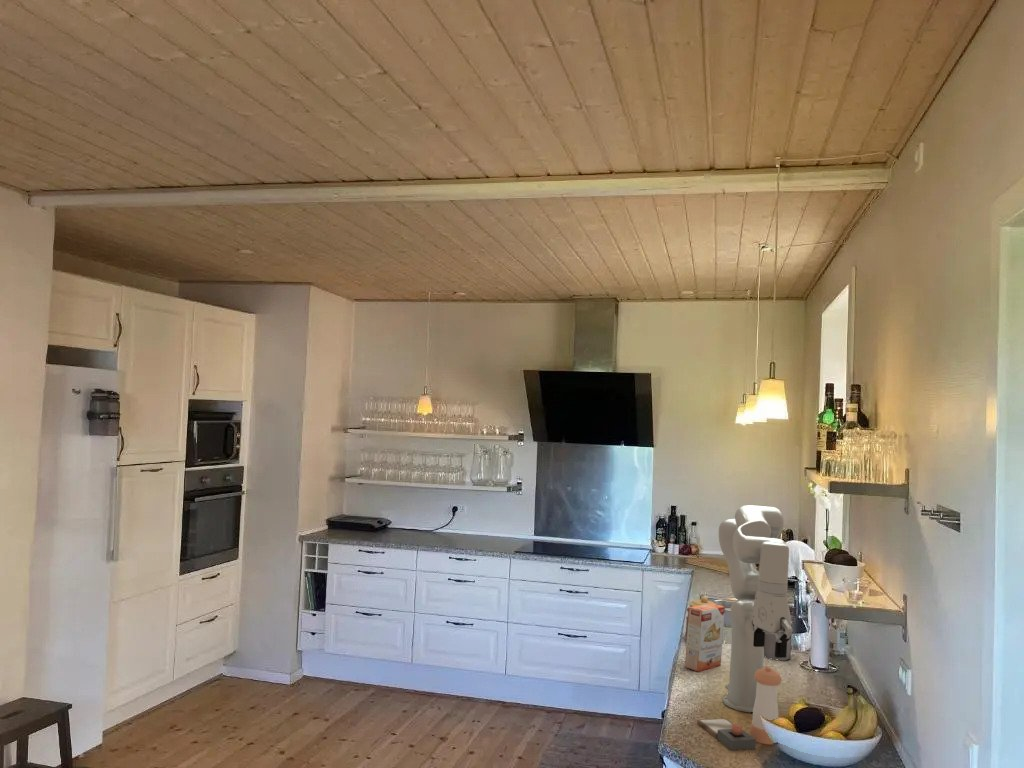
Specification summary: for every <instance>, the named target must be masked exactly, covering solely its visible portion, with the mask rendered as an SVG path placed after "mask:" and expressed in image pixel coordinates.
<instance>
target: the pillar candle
mask: <svg viewBox="0 0 1024 768" xmlns="http://www.w3.org/2000/svg"><path fill="white" fill-rule="evenodd" d="M791 627H792V628H793V621H792V620H791ZM779 635H780V637H781V636H782V634H779ZM792 635H793V633H792V634H791V638H790V639H789V642H788V643H787V654H786V657H785V658H776V657H775V643H776V642H777V639H776V636H775V634H767V633H765V643H764V655H765V656H766V657H765V656H764V657H765V658H767V657H768V658H767V659H769V658H772V659H771V660H773V659H778V660H782V661H783V660H787V659H790V660H791V657H792V656H791V654H792ZM778 660H777V661H778Z"/></svg>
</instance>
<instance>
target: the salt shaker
mask: <svg viewBox="0 0 1024 768" xmlns="http://www.w3.org/2000/svg"><path fill="white" fill-rule="evenodd" d="M754 678H755V680H756V681H757V687H756V699H755V703H754V708H753V713H752V721H751V723H750V731H749V733H750V734H749V735H751V736H752V737H753V738H755V739H756V743H760V744H764V745H769V746H770V745H774V744H773V742H772V741H771V739H770V738H769V736H768V734H767V733H766V732H765V730H764V728H763V724H762V720H761V717H760V716H763V717H764V718H766V719H768V720H773V719H776V718H778V719H779V715H780V714H779V706H778V705H779V704H778V689H779V688H778V687H779V685H781V681H782V676H781V675H780V673H779V672H777V671H776V670H774V669H772V668H771V667H770V666H766V667H763V668H762V669H758V670H757V671H756V672H755V674H754Z"/></svg>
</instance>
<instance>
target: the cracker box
mask: <svg viewBox="0 0 1024 768" xmlns="http://www.w3.org/2000/svg"><path fill="white" fill-rule="evenodd" d="M725 612H726V607H725V606H723V605H721V604H716V603H715V604H713V603H710V604H705V605H699V606H693V607H690V606H689V616H688V615H687V616H688V630H687V641H686V647H685V660H684V667H685V668H687V669H689V670H692V671H694V672H701V671H704V670H709V669H713V668H717V667H720V666H722V664H721V663H722V653H723V639H724V638H723V637H724V626H725V625H724V624H725Z"/></svg>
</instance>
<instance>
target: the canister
mask: <svg viewBox="0 0 1024 768" xmlns="http://www.w3.org/2000/svg"><path fill="white" fill-rule="evenodd" d="M710 603H713V604H716V603H715V601H711V600H709V599H708V597H707V596H705V595H703V596H701V598H700V599H693V600H692V601H690V602H689V603H688V604H689V607H693V606H699V605H705V604H710ZM689 607H687V608H686V611H687V616H686V618H685V619H686V622H685V633H684V637H685V638H684V639H685V641H686V642H687V630H688V616H689Z"/></svg>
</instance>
